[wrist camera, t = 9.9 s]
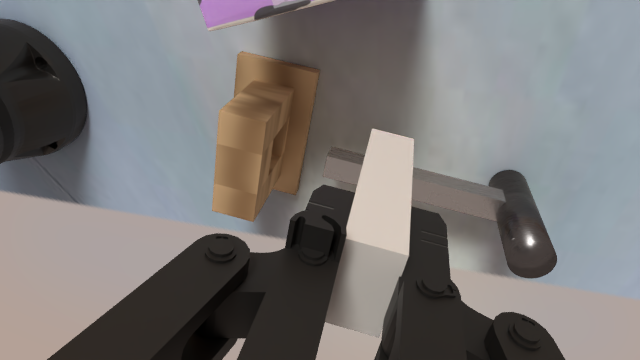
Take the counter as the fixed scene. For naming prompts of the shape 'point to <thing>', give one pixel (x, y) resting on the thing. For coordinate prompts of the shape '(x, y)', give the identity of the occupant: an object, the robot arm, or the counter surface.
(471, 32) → the counter surface
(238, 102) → the eye block
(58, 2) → the counter surface
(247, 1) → the candy box
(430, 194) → the hook rod
